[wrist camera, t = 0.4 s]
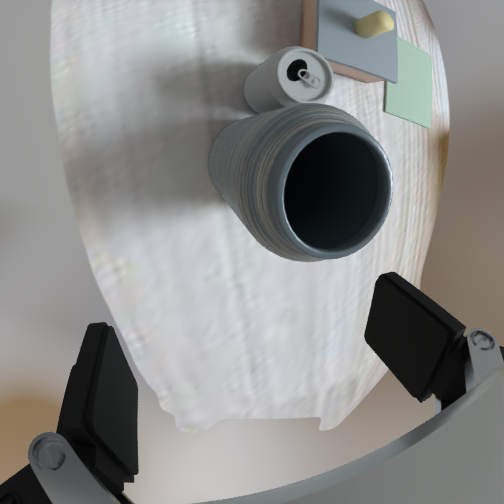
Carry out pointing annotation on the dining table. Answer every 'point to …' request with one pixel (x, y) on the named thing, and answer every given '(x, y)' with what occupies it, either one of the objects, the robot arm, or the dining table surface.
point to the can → (289, 80)
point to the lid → (358, 36)
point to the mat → (411, 85)
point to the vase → (304, 180)
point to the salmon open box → (310, 36)
